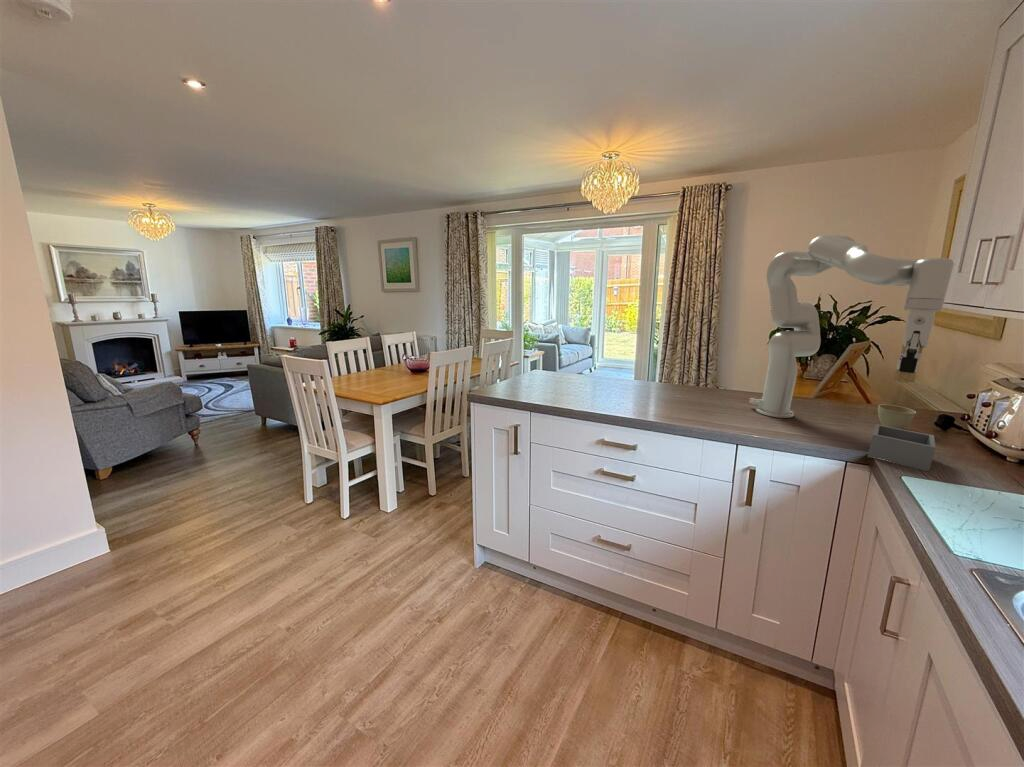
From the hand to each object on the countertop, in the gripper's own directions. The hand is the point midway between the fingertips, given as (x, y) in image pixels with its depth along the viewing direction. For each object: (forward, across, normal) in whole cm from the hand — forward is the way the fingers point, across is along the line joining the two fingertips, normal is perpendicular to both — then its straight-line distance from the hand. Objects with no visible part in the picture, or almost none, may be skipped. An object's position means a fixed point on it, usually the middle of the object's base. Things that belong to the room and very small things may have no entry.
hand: (906, 370), depth 119 cm
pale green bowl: (+26, +34, 0) cm, 43 cm away
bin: (+26, 0, -3) cm, 26 cm away
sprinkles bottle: (+4, 0, 0) cm, 4 cm away
